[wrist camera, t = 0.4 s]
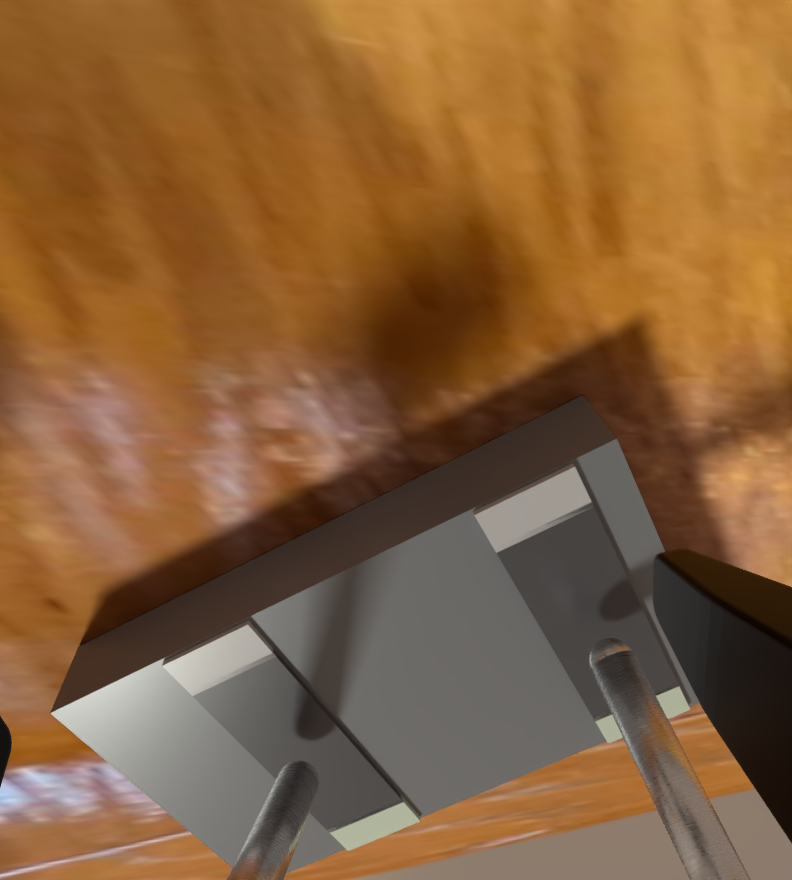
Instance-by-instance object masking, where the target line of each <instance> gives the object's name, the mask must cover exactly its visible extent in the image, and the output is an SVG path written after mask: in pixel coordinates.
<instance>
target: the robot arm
mask: <svg viewBox="0 0 792 880" xmlns="http://www.w3.org/2000/svg"><path fill="white" fill-rule="evenodd" d="M653 607H654V611H655V614H656V617H657V620H658V622H659V624H660V626H661V628H662V630H663V632H664V634H665V636H666V638H667V640H668V642H669V644H670V646H671V648H672V650H673V652H674V653H675V655H676V657H677V659H678V661H679V663H680V665H681V667H682V669H683V671H684V673H685V675H686V677H687V679H688V681H689V683H690V685H691V687H692V689H693V691H694V693H695V695H696V697H697V699H698V701H699V702H700V704H701V706H702V708H703V710H704V711H705V713H706V715H707V716H708V718H709V719H710V721H711V723H712V724H713V726H714V727H715V729H716V730H717V732H718V733H719V735H720V736H721V738H722V739H723V741H724V742H725V744H726V745H727V747H728V748H729V750H730V751H731V753H732V754H733V756H734V757H735V759H736V760H737V762H738V763H739V765H740V766H741V768H742V769H743V771H744V772H745V774H746V775H747V777H748V778H749V780H750V781H751V783H752V784H753V786H754V787H755V789H756V790H757V792H758V793H759V795H760V796H761V798H762V799H763V801H764V802H765V804H766V805H767V807H768V808H769V810H770V811H771V813H772V814H773V816H774V817H775V819H776V820H777V822H778V823H779V825H780V826H781V828H782V829H783V831H784V832H785V834H786V835H787V837H788V838H789V840H790V841H791V843H792V587H790V586H787V585H785V584H782V583H779V582H776V581H774V580H771V579H768V578H765V577H763V576H760V575H757V574H754V573H752V572H749V571H746V570H743V569H740V568H738V567H735V566H732V565H729V564H727V563H724V562H721V561H718V560H716V559H713V558H710V557H707V556H705V555H702V554H699V553H696V552H694V551H691V550H688V549H677V550H672V551H667V552H663V553H659V554H657V555H656V557H655V558H654V562H653ZM11 744H12V741H11V735H10V731H9V729H8V727H7V725H6V724H5V722H4V721H3V719H2V718H1V716H0V786H1V783H2V780H3V776H4V773H5V769H6V766H7V763H8V759H9V756H10V752H11Z"/></svg>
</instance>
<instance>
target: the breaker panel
mask: <svg viewBox="0 0 792 880" xmlns="http://www.w3.org/2000/svg"><path fill="white" fill-rule="evenodd" d="M663 552H665V550H664V547H663V545H662V543H661V540H660V538H659V536H658V533H657V531H656V529H655V526H654V524H653V522H652V519H651V517H650V515H649V512H648V510H647V508H646V505H645V503H644V501H643V498H642V496H641V494H640V491H639V489H638V487H637V484H636V482H635V480H634V477H633V475H632V473H631V470H630V468H629V466H628V463H627V461H626V459H625V456H624V454H623V452H622V449H621V447H620V445H619V442H618V440H617V438H616V437H615V435H614V434H613V433H612V432H611V430H610V429H609V428H608V426H607V425H606V424H605V422H604V421H603V420H602V419H601V417H600V416H599V415H598V413H597V412H596V411H595V410H594V408H593V407H592V406H591V404H590V403H589V402H588V400H587V399H586V398H585V397H584V395H582V396H580V397H578V398H576V399H574V400H572V401H570V402H568V403H566V404H564V405H562V406H560V407H558V408H556V409H554V410H552V411H550V412H548V413H546V414H544V415H542V416H540V417H538V418H536V419H534V420H532V421H530V422H528V423H526V424H524V425H522V426H520V427H518V428H516V429H514V430H512V431H510V432H508V433H506V434H504V435H502V436H500V437H498V438H496V439H494V440H492V441H490V442H488V443H486V444H484V445H482V446H480V447H478V448H476V449H474V450H472V451H470V452H468V453H466V454H464V455H462V456H460V457H458V458H456V459H454V460H452V461H450V462H448V463H446V464H444V465H442V466H440V467H438V468H436V469H434V470H432V471H430V472H428V473H426V474H424V475H422V476H420V477H418V478H416V479H414V480H412V481H410V482H408V483H406V484H404V485H402V486H399V487H397V488H395V489H393V490H391V491H389V492H387V493H385V494H383V495H381V496H379V497H377V498H375V499H373V500H371V501H369V502H367V503H365V504H363V505H361V506H359V507H357V508H355V509H353V510H351V511H349V512H347V513H345V514H343V515H341V516H339V517H337V518H335V519H333V520H331V521H329V522H327V523H325V524H323V525H321V526H319V527H317V528H315V529H313V530H311V531H309V532H307V533H305V534H303V535H301V536H299V537H297V538H295V539H293V540H291V541H289V542H287V543H285V544H283V545H281V546H279V547H277V548H275V549H273V550H271V551H269V552H267V553H265V554H263V555H261V556H259V557H257V558H255V559H253V560H251V561H249V562H247V563H245V564H243V565H241V566H239V567H237V568H235V569H233V570H231V571H229V572H227V573H225V574H223V575H221V576H219V577H217V578H215V579H213V580H211V581H209V582H207V583H205V584H203V585H201V586H199V587H197V588H195V589H193V590H191V591H189V592H187V593H185V594H183V595H181V596H179V597H177V598H175V599H173V600H171V601H169V602H167V603H165V604H163V605H161V606H159V607H157V608H155V609H153V610H151V611H149V612H147V613H145V614H143V615H141V616H139V617H137V618H135V619H133V620H131V621H129V622H127V623H125V624H123V625H121V626H119V627H117V628H115V629H113V630H111V631H109V632H107V633H105V634H103V635H101V636H99V637H97V638H95V639H93V640H91V641H89V642H87V643H85V644H83V645H81V646H79V647H78V649H77V651H76V654H75V656H74V658H73V661H72V663H71V666H70V668H69V670H68V673H67V675H66V677H65V680H64V682H63V684H62V687H61V689H60V691H59V694H58V696H57V698H56V701H55V703H54V705H53V708H52V710H51V712H50V714H52V715H53V716H54V717H55V718H56V719H57V720H59V721H60V722H61V723H62V724H63V725H65V726H66V727H67V728H68V729H69V730H70V731H72V732H73V733H74V734H75V735H76V736H78V737H79V738H80V739H81V740H82V741H83V742H85V743H86V744H87V745H88V746H89V747H91V748H92V749H93V750H94V751H95V752H96V753H98V754H99V755H100V756H101V757H102V758H103V759H105V760H106V761H107V762H108V763H109V764H111V765H112V766H113V767H114V768H115V769H116V770H118V771H119V772H120V773H121V774H122V775H124V776H125V777H126V778H127V779H128V780H129V781H131V782H132V783H133V784H134V785H135V786H137V787H138V788H139V789H140V790H141V791H142V792H144V793H145V794H146V795H147V796H148V797H150V798H151V799H152V800H153V801H154V802H155V803H157V804H158V805H159V806H160V807H161V808H163V809H164V810H165V811H166V812H167V813H168V814H170V815H171V816H172V817H173V818H174V819H175V820H177V821H178V822H179V823H180V824H181V825H183V826H184V827H185V828H186V829H187V830H188V831H190V832H191V833H192V834H193V835H194V836H196V837H197V838H198V839H199V840H200V841H201V842H203V843H204V844H205V845H206V846H207V847H209V848H210V849H211V850H212V851H213V852H214V853H216V854H217V855H218V856H219V857H220V858H222V859H223V860H224V861H225V862H226V863H227V864H229V865H230V866H231V867H232V868H233V866H234V864H235V862H236V860H237V858H238V856H239V854H240V852H241V850H242V848H243V846H244V843H245V841H246V839H247V837H248V835H249V833H250V831H251V829H252V827H253V825H254V823H255V821H256V819H257V817H258V815H259V813H260V811H261V809H262V807H263V805H264V803H265V801H266V799H267V797H268V795H269V793H270V791H271V789H272V787H273V785H274V783H275V781H276V779H277V777H278V775H279V773H280V771H281V770H282V769H283V767H284V766H286V765H287V764H288V763H290V762H292V761H297V760H302V761H306V762H308V763H310V764H311V765H312V766H313V767H314V768H315V770H316V771H317V774H318V777H319V788H318V792H317V794H316V797H315V799H314V802H313V805H312V807H311V810H310V812H309V815H308V818H307V820H306V823H305V825H304V828H303V831H302V833H301V836H300V838H299V841H298V844H297V846H296V849H295V851H294V854H293V857H292V859H291V862H290V864H289V867H288V870H287V872H286V873H289V872H291V871H294V870H296V869H298V868H301V867H303V866H306V865H308V864H310V863H313V862H315V861H318V860H320V859H322V858H325V857H327V856H330V855H332V854H335V853H337V852H339V851H342V850H344V849H346V850H347V851H350V850H352V849H354V848H357V847H359V846H362V845H364V844H367V843H369V842H371V841H374V840H376V839H379V838H381V837H384V836H386V835H388V834H391V833H393V832H396V831H398V830H400V829H403V828H405V827H408V826H410V825H413V824H415V823H417V822H420V818H421V817H424V816H426V815H429V814H431V813H434V812H436V811H438V810H441V809H443V808H446V807H448V806H450V805H453V804H455V803H458V802H460V801H462V800H465V799H467V798H470V797H472V796H475V795H477V794H479V793H482V792H484V791H487V790H489V789H491V788H494V787H496V786H499V785H501V784H504V783H506V782H508V781H511V780H513V779H516V778H518V777H520V776H523V775H525V774H528V773H530V772H533V771H535V770H537V769H540V768H542V767H545V766H547V765H549V764H552V763H554V762H557V761H559V760H561V759H564V758H566V757H569V756H571V755H574V754H576V753H578V752H581V751H583V750H586V749H588V748H590V747H593V746H595V745H598V744H600V743H603V742H605V741H607V742H608V743H611V742H613V741H616V740H618V739H621V738H623V736H622V734H621V732H620V730H619V728H618V726H617V724H616V722H615V719H614V717H613V715H612V713H611V711H610V709H609V707H608V704H607V702H606V700H605V698H604V696H603V694H602V692H601V690H600V687H599V685H598V683H597V681H596V679H595V677H594V675H593V673H592V670H591V668H590V665H589V654H590V651H591V649H592V647H593V646H594V645H595V643H597V642H598V641H600V640H602V639H604V638H616V639H619V640H622V641H623V642H625V643H626V644H627V645H628V646H629V647H630V648H631V649H632V651H633V653H634V655H635V656H636V658H637V660H638V662H639V664H640V666H641V668H642V670H643V672H644V674H645V676H646V678H647V680H648V682H649V684H650V686H651V687H652V689H653V691H654V693H655V695H656V697H657V699H658V701H659V703H660V705H661V707H662V709H663V711H664V713H665V715H666V717H667V718H668V719H669V718H671V717H674V716H676V715H679V714H681V713H683V712H686V711H688V710H690V708H689V706H692V705H694V704H697V703H699V701H698V699H697V697H696V695H695V693H694V691H693V689H692V687H691V685H690V683H689V681H688V679H687V677H686V675H685V673H684V671H683V669H682V667H681V665H680V663H679V661H678V659H677V657H676V655H675V653H674V652H673V650H672V648H671V646H670V644H669V642H668V640H667V638H666V636H665V634H664V632H663V630H662V628H661V626H660V624H659V622H658V620H657V617H656V614H655V611H654V607H653V562H654V558H655V557H656V555H657V554H659V553H663Z"/></svg>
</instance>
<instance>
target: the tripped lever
mask: <svg viewBox="0 0 792 880" xmlns="http://www.w3.org/2000/svg"><path fill="white" fill-rule="evenodd" d="M318 788H319V777H318V774H317V771H316V770H315V768H314V767H313V766H312V765H311V764H310V763H308V762H306V761H302V760H297V761H292V762H290V763H288V764H287V765H286V766H284V767H283V769H282V770H281V771H280V773H279V775H278V777H277V779H276V781H275V783H274V785H273V787H272V789H271V791H270V793H269V795H268V797H267V799H266V801H265V803H264V805H263V807H262V809H261V811H260V813H259V815H258V817H257V819H256V821H255V823H254V825H253V827H252V829H251V831H250V833H249V835H248V837H247V839H246V841H245V843H244V846H243V848H242V850H241V852H240V854H239V856H238V858H237V860H236V862H235V864H234V866H233V868H232V870H231V872H230V874H229V876H228V878H227V880H284V877H285V875H286V872H287V870H288V867H289V864H290V862H291V859H292V857H293V854H294V851H295V849H296V846H297V844H298V841H299V838H300V836H301V833H302V831H303V828H304V825H305V823H306V820H307V818H308V815H309V812H310V810H311V807H312V805H313V802H314V799H315V797H316V794H317V792H318Z"/></svg>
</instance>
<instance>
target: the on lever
mask: <svg viewBox="0 0 792 880" xmlns="http://www.w3.org/2000/svg"><path fill="white" fill-rule="evenodd" d="M589 665H590V668H591V670H592V673H593V675H594V677H595V679H596V681H597V683H598V685H599V687H600V690H601V692H602V694H603V696H604V698H605V700H606V702H607V704H608V707H609V709H610V711H611V713H612V715H613V717H614V719H615V722H616V724H617V726H618V728H619V730H620V732H621V734H622V736H623V739H624V741H625V743H626V745H627V747H628V749H629V751H630V754H631V756H632V758H633V760H634V762H635V764H636V766H637V768H638V771H639V773H640V775H641V777H642V779H643V781H644V783H645V785H646V788H647V790H648V792H649V794H650V796H651V798H652V800H653V803H654V805H655V807H656V809H657V811H658V813H659V815H660V817H661V820H662V822H663V824H664V826H665V828H666V830H667V832H668V834H669V837H670V839H671V841H672V843H673V845H674V847H675V849H676V852H677V854H678V856H679V858H680V860H681V862H682V864H683V866H684V868H685V871H686V873H687V875H688V877H689V879H690V880H751V879H750V877H749V876H748V874H747V872H746V870H745V868H744V866H743V864H742V862H741V860H740V858H739V856H738V854H737V852H736V850H735V849H734V846H733V845H732V843H731V841H730V839H729V837H728V835H727V833H726V831H725V829H724V827H723V825H722V823H721V822H720V819H719V818H718V815H717V814H716V812H715V810H714V808H713V806H712V804H711V802H710V800H709V798H708V796H707V794H706V792H705V790H704V788H703V786H702V784H701V782H700V781H699V779H698V777H697V775H696V773H695V771H694V769H693V767H692V765H691V763H690V761H689V759H688V757H687V755H686V753H685V751H684V750H683V748H682V746H681V744H680V742H679V740H678V738H677V736H676V734H675V732H674V730H673V728H672V726H671V724H670V722H669V720H668V718H667V717H666V715H665V713H664V711H663V709H662V707H661V705H660V703H659V701H658V699H657V697H656V695H655V693H654V691H653V689H652V687H651V686H650V684H649V682H648V680H647V678H646V676H645V674H644V672H643V670H642V668H641V666H640V664H639V662H638V660H637V658H636V656H635V655H634V653H633V651H632V649H631V648H630V647H629V646H628V645H627V644H626V643H625V642H623V641H622V640H619V639H616V638H604V639H602V640H600V641H598V642H597V643H595V645H594V646H593V647H592V649H591V651H590V654H589Z"/></svg>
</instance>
